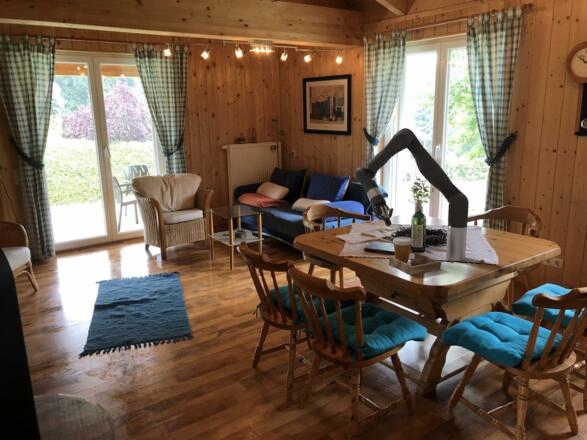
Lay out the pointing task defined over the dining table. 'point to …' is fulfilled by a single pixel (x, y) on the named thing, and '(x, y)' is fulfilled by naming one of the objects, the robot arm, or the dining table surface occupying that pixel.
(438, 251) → the dining table surface
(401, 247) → the amber cup
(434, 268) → the walnut bay
